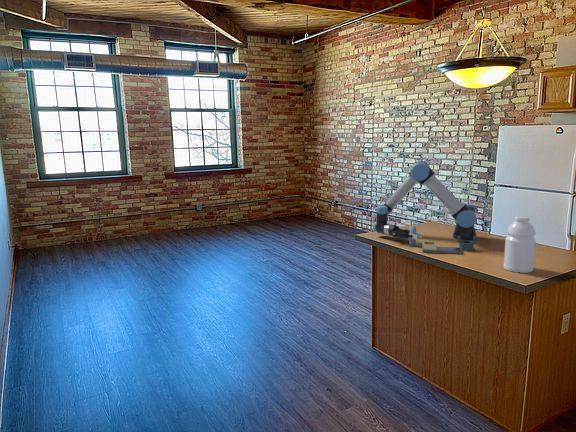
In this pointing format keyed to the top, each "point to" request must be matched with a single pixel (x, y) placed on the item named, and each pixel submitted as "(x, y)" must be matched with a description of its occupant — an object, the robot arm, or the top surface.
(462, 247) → the bracket
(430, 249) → the rail
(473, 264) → the top surface
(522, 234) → the bottle
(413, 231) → the peg
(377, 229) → the robot arm
